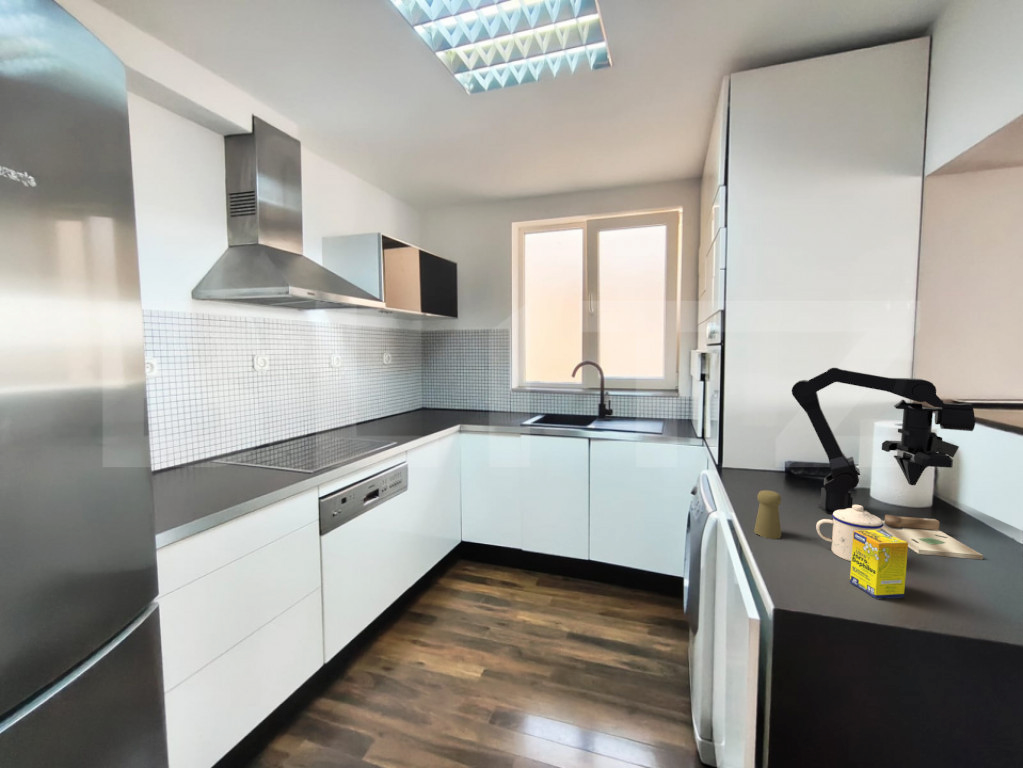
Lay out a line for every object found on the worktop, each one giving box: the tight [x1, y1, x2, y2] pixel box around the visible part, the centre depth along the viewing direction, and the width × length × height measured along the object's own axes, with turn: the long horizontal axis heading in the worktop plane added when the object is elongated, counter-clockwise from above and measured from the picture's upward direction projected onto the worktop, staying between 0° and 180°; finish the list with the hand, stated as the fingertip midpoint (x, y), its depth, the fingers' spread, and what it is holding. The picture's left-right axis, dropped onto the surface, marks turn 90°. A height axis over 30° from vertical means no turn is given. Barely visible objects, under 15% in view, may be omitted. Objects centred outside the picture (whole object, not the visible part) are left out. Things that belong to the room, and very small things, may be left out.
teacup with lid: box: [815, 504, 883, 562], centre depth 101 cm, size 12×9×12 cm
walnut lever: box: [884, 514, 940, 530], centre depth 113 cm, size 11×3×2 cm, turn 76°
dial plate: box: [882, 520, 984, 560], centre depth 108 cm, size 12×18×1 cm, turn 166°
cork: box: [753, 489, 782, 540], centre depth 112 cm, size 6×6×11 cm
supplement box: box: [849, 530, 909, 600], centre depth 86 cm, size 6×6×11 cm
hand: (912, 484), depth 118 cm, fingers closed
